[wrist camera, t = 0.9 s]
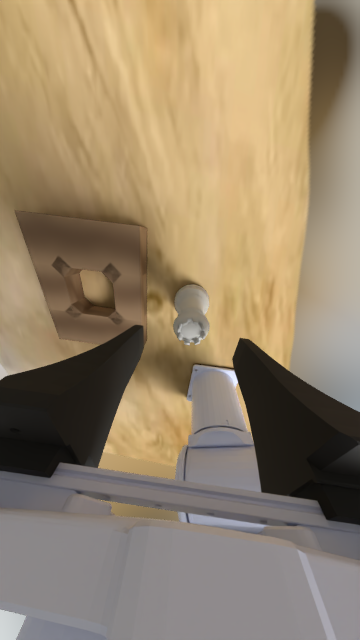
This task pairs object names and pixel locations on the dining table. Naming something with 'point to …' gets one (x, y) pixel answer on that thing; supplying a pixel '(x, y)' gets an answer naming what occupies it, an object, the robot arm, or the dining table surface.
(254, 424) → the robot arm
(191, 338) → the rook chess piece
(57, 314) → the socket board
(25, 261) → the dining table surface
